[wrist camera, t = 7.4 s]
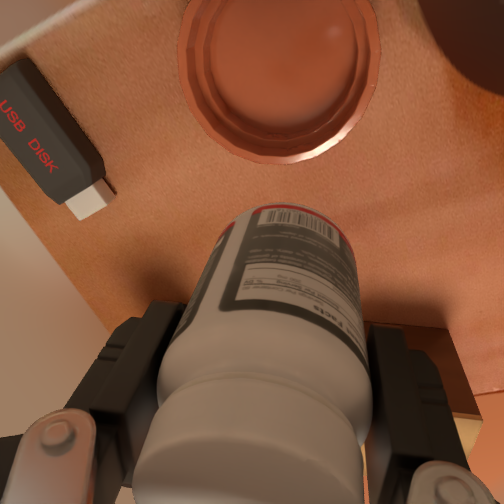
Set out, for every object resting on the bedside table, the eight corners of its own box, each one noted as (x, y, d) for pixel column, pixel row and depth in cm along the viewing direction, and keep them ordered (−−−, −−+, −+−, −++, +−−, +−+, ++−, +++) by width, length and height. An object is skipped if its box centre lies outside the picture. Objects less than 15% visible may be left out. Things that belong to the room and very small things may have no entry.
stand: (358, 320, 39) (367, 406, 31) (448, 329, 38) (483, 421, 30) (347, 382, 43) (353, 474, 35) (429, 391, 42) (456, 488, 34)
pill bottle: (263, 336, 16) (212, 601, 9) (188, 239, 14) (52, 467, 7) (381, 288, 14) (437, 571, 7) (311, 171, 13) (292, 384, 5)
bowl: (191, -48, 27) (168, -57, 23) (386, -49, 26) (397, -60, 22) (201, 142, 33) (184, 159, 30) (359, 150, 32) (364, 169, 28)
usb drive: (29, 57, 32) (5, 61, 30) (125, 191, 36) (111, 204, 34) (-14, 93, 34) (-40, 99, 32) (83, 216, 38) (66, 229, 36)
